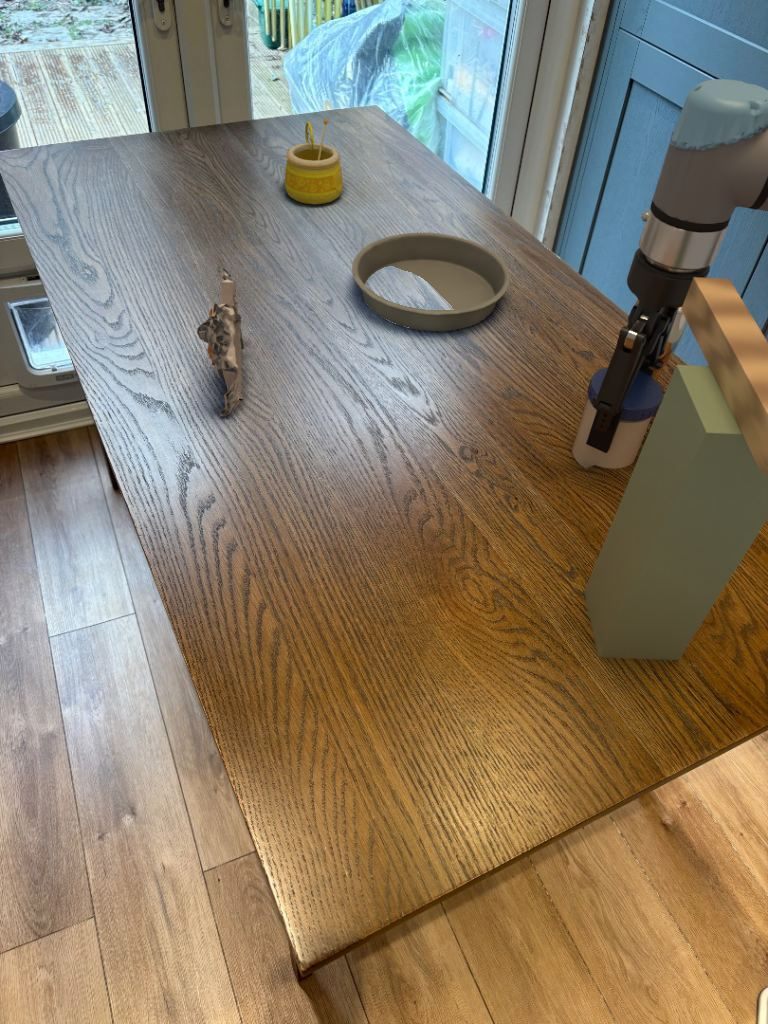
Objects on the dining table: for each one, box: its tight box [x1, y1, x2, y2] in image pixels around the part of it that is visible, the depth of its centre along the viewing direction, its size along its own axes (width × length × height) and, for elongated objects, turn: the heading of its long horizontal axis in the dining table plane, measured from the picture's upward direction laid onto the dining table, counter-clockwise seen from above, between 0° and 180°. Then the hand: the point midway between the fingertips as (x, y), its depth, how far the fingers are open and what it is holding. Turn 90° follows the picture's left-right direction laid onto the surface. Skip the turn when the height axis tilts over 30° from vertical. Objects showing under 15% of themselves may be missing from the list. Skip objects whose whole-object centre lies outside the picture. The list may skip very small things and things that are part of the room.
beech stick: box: [681, 277, 768, 474], centre depth 55 cm, size 20×3×3 cm, turn 0°
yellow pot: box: [284, 118, 344, 205], centre depth 138 cm, size 13×11×12 cm
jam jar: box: [571, 397, 653, 469], centre depth 92 cm, size 8×8×10 cm
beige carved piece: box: [196, 266, 244, 419], centre depth 96 cm, size 15×4×13 cm, turn 6°
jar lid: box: [586, 366, 664, 421], centre depth 88 cm, size 8×8×2 cm
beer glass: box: [634, 298, 688, 382], centre depth 99 cm, size 7×7×15 cm
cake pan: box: [351, 232, 511, 332], centre depth 118 cm, size 25×25×4 cm
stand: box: [583, 364, 768, 661], centre depth 66 cm, size 8×8×30 cm
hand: (612, 427), depth 92 cm, fingers closed on jar lid, 8 cm apart
